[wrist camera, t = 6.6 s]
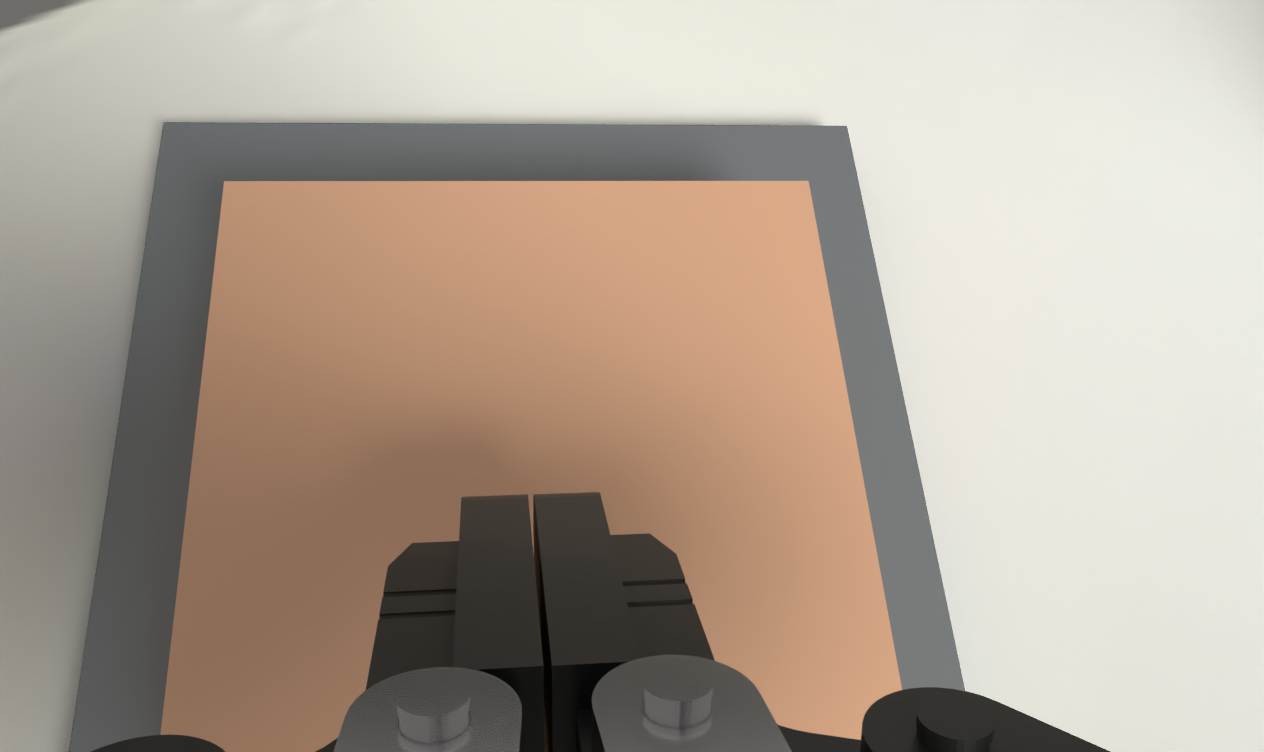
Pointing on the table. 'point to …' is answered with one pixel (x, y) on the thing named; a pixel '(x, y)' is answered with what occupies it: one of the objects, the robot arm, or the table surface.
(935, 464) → the table surface
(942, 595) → the slate board
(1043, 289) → the table surface
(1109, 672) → the table surface
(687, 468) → the terracotta brick
